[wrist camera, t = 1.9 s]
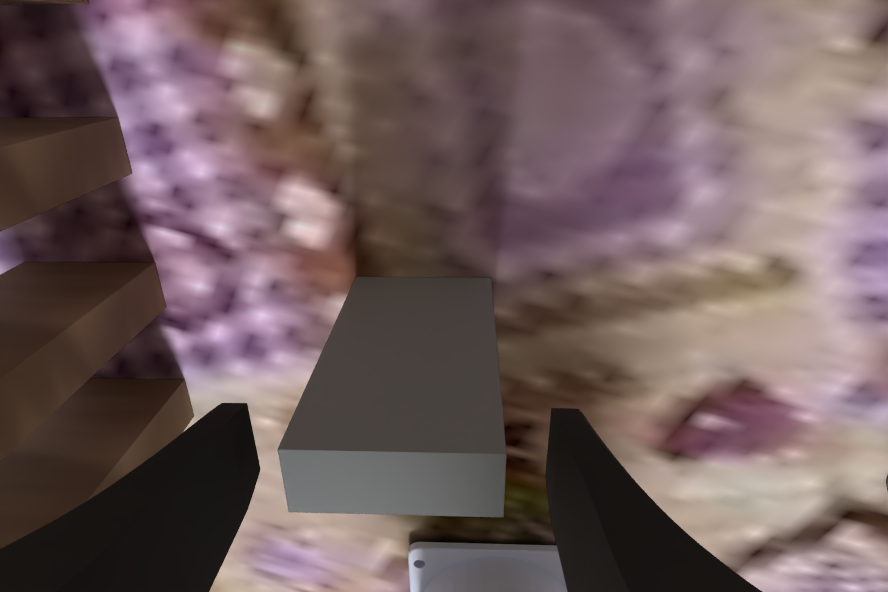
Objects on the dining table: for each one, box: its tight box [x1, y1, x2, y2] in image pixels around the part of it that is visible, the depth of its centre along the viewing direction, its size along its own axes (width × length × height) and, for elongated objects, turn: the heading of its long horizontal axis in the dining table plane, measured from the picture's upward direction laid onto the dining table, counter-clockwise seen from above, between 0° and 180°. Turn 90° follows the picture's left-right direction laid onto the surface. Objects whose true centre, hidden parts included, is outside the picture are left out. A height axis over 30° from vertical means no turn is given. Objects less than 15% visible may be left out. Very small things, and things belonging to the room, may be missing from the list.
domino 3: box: [0, 262, 166, 461], centre depth 16 cm, size 2×5×9 cm, turn 91°
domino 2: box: [0, 378, 194, 549], centre depth 19 cm, size 2×5×9 cm, turn 91°
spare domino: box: [278, 277, 506, 517], centre depth 16 cm, size 2×5×9 cm, turn 90°
